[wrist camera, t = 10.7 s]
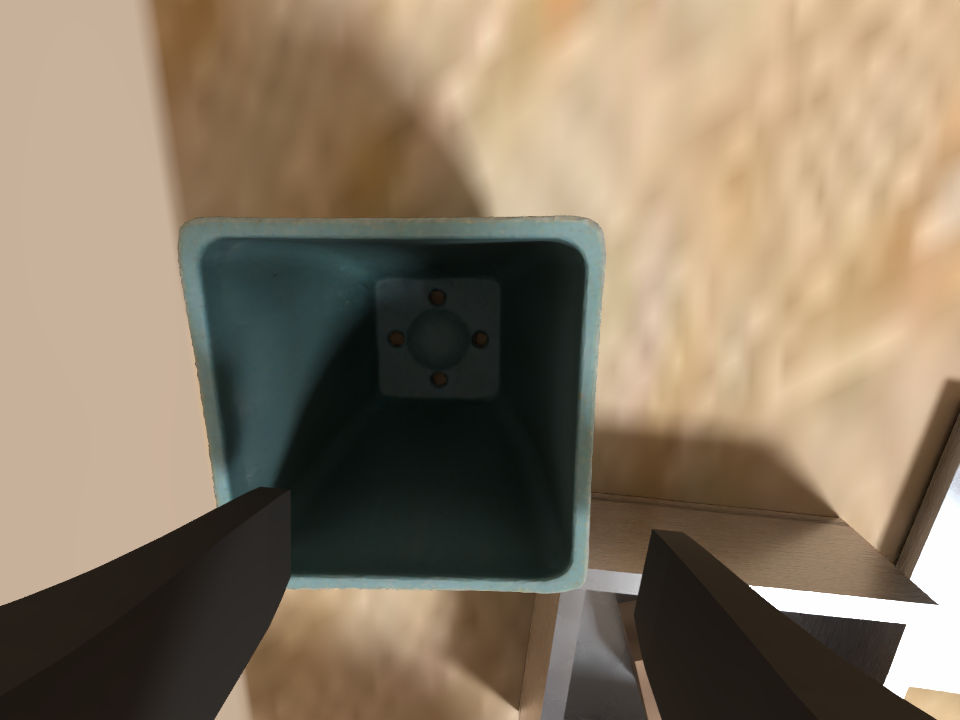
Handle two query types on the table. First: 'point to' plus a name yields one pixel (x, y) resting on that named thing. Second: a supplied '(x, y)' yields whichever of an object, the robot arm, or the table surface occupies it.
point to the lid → (939, 569)
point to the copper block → (638, 660)
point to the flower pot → (405, 391)
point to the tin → (753, 558)
